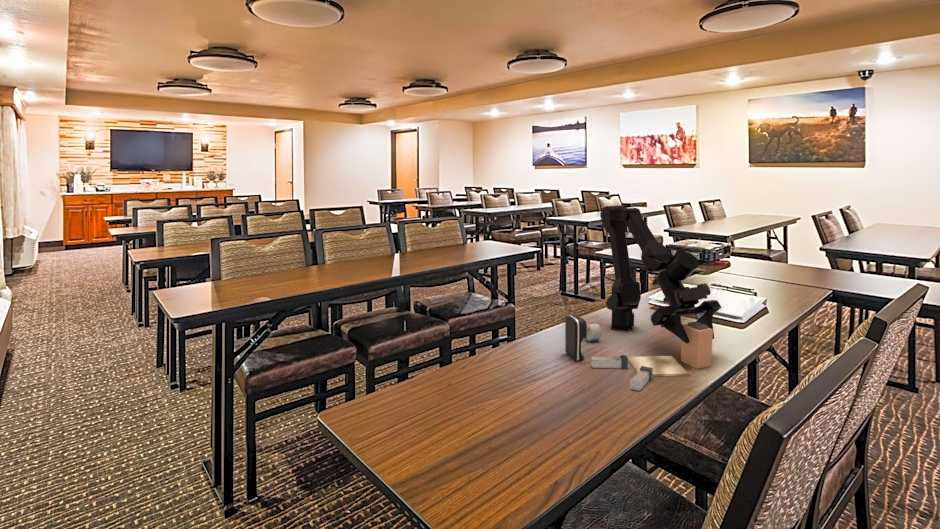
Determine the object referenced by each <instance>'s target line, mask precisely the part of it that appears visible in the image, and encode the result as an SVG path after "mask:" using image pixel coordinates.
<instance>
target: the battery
mask: <svg viewBox="0 0 940 529" xmlns="http://www.w3.org/2000/svg"><path fill="white" fill-rule="evenodd" d="M564 320H565V322H564V324H565V326H564V327H565V328H564V329H565V330H564V331H565V332H564V334H565V336H564V337H565V338H564V339H565V343H564V344H565V347H564V349H565V351H564V352H565V354H566V355H568V356H569V357H570V358H571V359H573V360H574V361H582V360H584V359H585V356H584V355H583V353H582V342H583V341H584V339H586V338H587V325H588V324H587V321H586V320H585V319H584V318H582V317H581V316H579V315H578V314H572V315H571V314H569V315H566V316H565V319H564Z"/></svg>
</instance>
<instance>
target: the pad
mask: <svg viewBox="0 0 940 529" xmlns="http://www.w3.org/2000/svg"><path fill="white" fill-rule="evenodd" d="M627 358H628V363H629V365H630V366H631V367H632V368H633V370H634V371H635V373H636V374H637V373H638V372H639V371H640V368H641V367H642V366H645V367H650V368H653V374H652V377H687V376H689V375H690V374H689V372H688V371H687V370H686V369H685V368H683V366H682V364H680V363H679V362H678V361H677V360H676V359H675V358H674V357H673V356H672V355H661V356H660V355H656V356H653V355H652V356H646V355H645V356H627Z"/></svg>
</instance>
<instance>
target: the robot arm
mask: <svg viewBox="0 0 940 529" xmlns="http://www.w3.org/2000/svg"><path fill="white" fill-rule="evenodd" d="M599 216H600V219H601V224H602V227H603V228H604V230H605V231H606V233H607V234H608V235H609V241H610V242H609V243H610V249H611V256H612V263H613V270H614V271H613V272H614V278H615V279H614V281H613V283H612V286H611V295H610V296H609V297H608V299H607V300H605V306H606V308H607V309H608V310H610V311H611V324H610V325H611V326H610V329H611V330H617V331H618V330H622V331H633V328H634V327H635V313H634V312H633V310H638V309H639V305H640V301H641V299H642V298H641V297H642V296H641V295H642V292H641V286H640V282H639V281H635V279H634V278H633V276H632V268H631V262H630V256H629V248H628V243H627V235H626V231H627V228H628V230H629V231H630V234H631V235H632V237H633V238H634V241H635V242H636V244H637V245H638V246H639V248H640V251H641V256H640V258H641V262H642V264H643V266H644V268H645V270H646V271H647V272H649V273H656V272H658V273H659V274H656V275H654V278H653V280H652V286H659V288H660V290H661V292H662V294H663V296H664V297H663V299H662V300H663V303H668V305H665V306H664V305H663V306H659V307H658V308H657V309H656V310H655V311H654V312H653V313H652V314H651V315H650V322H651V323H652V326H654V327H655V326H660V327H661V328H664V329H666V330H667V331H668V332H671V333H672V334H674V335H675V336H676V337H677V338H678V339H680V340H681V342H682V341H684V342H685V343H686V344H688V343H689V342H690V341H689V338H688V336H687V333H686V331H685V329H684V327H683V325H684V324H682V319H681V318H682V317H686V316H687V317H688V316H693V315H695V317H696V318H698V319H696V321H697V322H700V323H702V324H705V325H707V326H708V328H711V329H713V330H714V326H713V325H714V324H713V316H714V315H715V314H716V313H717V312H719V310H721V309H722V306H721V304H720V302H719V300H717V299H710V300H709V299H708V296H710V295H711V288H710V286H709V285H708V284H707V283H706V282H705V283H700V284H697V285H696V287H695V286H694V287H689V286H685V285H684V283H683V281H686V280H687V279H688V278H690V276H691V275H692V274H693V273H694V272H695V271H696V269H698V268H699V265H700V262H699V259H698V258H697V257H696V256H695V255H693V254H692V253H690V252H687V251H686V249H685V248H679V249H677V250H676V251H675V253H674V255H673V254H672V252H671V251H670V249H669V248H668V247H666V246H665V245H664V244H662V243H660V242H659V241H658V240H657V239H656V237H655V236H654V234H653V232H652V231H651V230H650V227H649V226H648V225H647V223H646V221H645V220H644V218H643V216H642V215H641V210H640V209H639V208H637V207H626V206H625V205H623V204H621V205H619V204H618V205H605V206H603V207H602V210H601V211H600V215H599ZM703 299H705V300H703ZM707 299H708V300H707ZM700 300H703V301H702V302H701V304H699V303H700ZM698 304H699V305H698ZM696 305H698V306H696ZM714 339H715V333H714V331H713V339H712V341H713V340H714Z"/></svg>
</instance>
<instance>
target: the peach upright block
mask: <svg viewBox="0 0 940 529" xmlns="http://www.w3.org/2000/svg"><path fill="white" fill-rule="evenodd" d="M682 325H683V327H684V329H685V331H686V333H687V336H688V338H689V341H690V342H689V343H688V344H686V343H685V342H684V341H682V340H681V348H680V349H681V350H680V362H682V361H683V362H682V363H684V362H685V363H684V364H686V363H687V364H686V365H688V364H689V365H688V366H691V368H694V369H696V370H697V369H703V368H709V367H711V366H712V353H713V340H714V339H713V332H714V328H713V329H711V328H708V326H707V325H705V324H702V323H700V322H697V320H695V321H691V322H687V324H682ZM712 339H713V340H712Z"/></svg>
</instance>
